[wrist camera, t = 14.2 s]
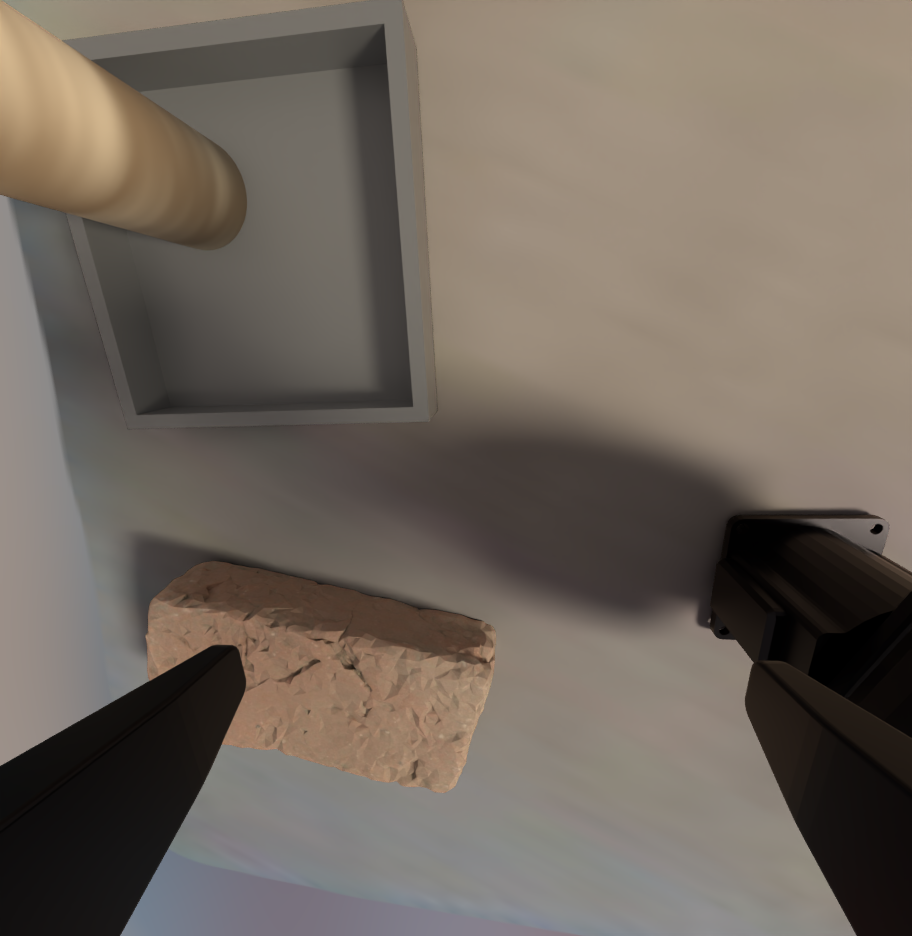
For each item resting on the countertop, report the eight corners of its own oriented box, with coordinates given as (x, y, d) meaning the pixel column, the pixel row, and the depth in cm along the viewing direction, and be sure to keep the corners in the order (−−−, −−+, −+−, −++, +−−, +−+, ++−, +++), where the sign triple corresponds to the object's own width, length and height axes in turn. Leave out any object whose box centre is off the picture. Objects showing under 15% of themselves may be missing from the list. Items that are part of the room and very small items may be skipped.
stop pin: (204, 94, 16) (-813, -727, 4) (280, 216, 17) (-303, -92, 5) (118, 173, 17) (-875, -242, 5) (194, 284, 18) (-456, 180, 6)
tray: (416, 48, 15) (401, -5, 13) (437, 410, 19) (429, 421, 17) (86, 86, 17) (17, 46, 14) (170, 418, 21) (127, 429, 18)
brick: (499, 616, 23) (499, 685, 18) (466, 730, 25) (459, 814, 21) (206, 545, 23) (136, 596, 19) (204, 664, 26) (142, 733, 21)
